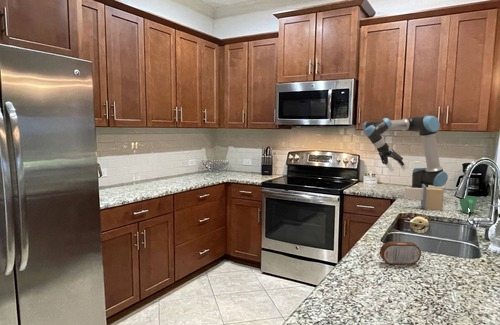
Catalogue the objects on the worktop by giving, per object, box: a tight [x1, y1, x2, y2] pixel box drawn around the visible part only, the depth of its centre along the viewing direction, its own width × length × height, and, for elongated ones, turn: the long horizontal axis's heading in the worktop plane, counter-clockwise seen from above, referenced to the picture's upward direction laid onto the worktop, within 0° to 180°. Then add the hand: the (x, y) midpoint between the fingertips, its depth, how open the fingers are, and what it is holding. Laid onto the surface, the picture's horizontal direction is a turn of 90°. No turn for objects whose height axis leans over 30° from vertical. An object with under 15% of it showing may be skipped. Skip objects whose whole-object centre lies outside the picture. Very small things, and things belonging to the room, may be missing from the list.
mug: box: [459, 195, 478, 214], centre depth 209 cm, size 15×10×10 cm
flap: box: [404, 184, 426, 210], centre depth 224 cm, size 12×13×14 cm
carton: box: [424, 186, 445, 212], centre depth 221 cm, size 10×10×14 cm
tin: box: [379, 241, 422, 266], centre depth 126 cm, size 15×3×8 cm, turn 90°
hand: (398, 170), depth 230 cm, fingers open, 13 cm apart
